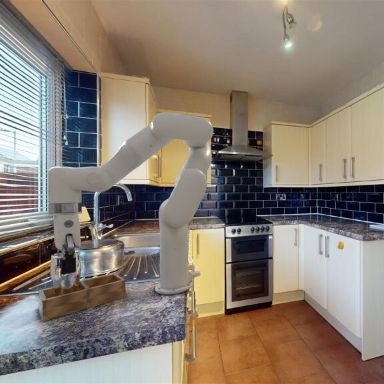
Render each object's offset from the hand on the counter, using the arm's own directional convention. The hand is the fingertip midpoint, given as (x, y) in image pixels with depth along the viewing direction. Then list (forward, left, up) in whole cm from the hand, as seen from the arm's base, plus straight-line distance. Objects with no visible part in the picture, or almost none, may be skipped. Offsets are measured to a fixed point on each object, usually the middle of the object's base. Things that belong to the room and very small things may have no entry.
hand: (66, 270), depth 67 cm
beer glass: (0, 0, -10) cm, 10 cm away
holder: (-4, 0, -11) cm, 12 cm away
